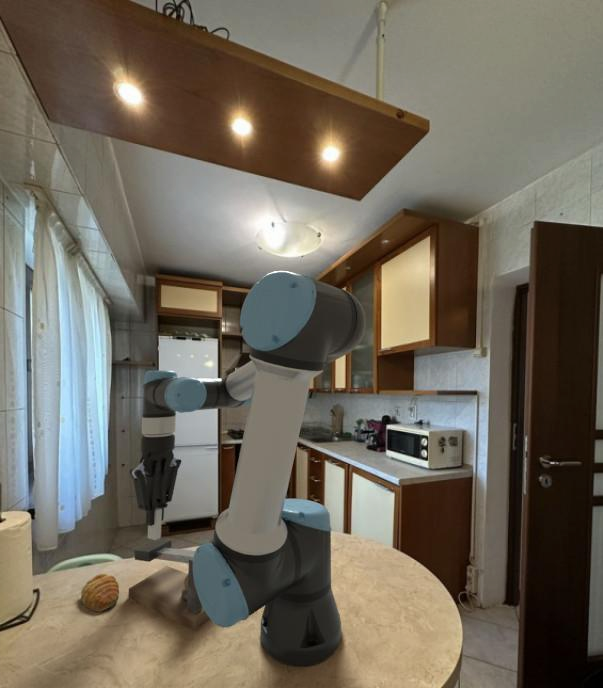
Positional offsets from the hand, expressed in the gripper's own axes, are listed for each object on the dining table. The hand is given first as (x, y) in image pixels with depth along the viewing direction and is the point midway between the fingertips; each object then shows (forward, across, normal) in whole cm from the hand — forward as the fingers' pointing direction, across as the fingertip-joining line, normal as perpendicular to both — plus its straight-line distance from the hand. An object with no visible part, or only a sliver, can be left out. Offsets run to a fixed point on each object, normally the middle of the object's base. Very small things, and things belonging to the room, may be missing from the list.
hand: (154, 537), depth 76 cm
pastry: (+11, +8, -7) cm, 15 cm away
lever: (+3, 0, +8) cm, 8 cm away
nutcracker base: (+11, 0, +9) cm, 14 cm away
